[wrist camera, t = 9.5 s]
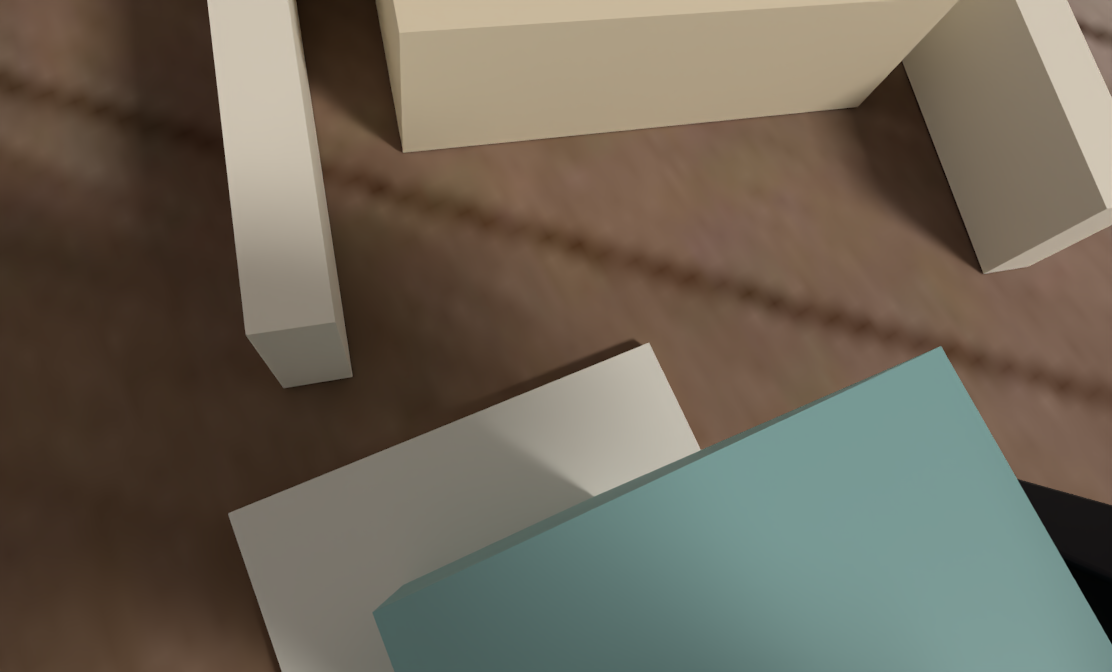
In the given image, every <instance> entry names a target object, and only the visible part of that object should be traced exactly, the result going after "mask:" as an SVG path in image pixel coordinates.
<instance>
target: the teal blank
mask: <svg viewBox="0 0 1112 672" xmlns="http://www.w3.org/2000/svg"><path fill="white" fill-rule="evenodd" d="M372 613H373V616H374V619H375V621H376V624H377V627H378V629H379V632H380V635H381V637H382V640H383V643H384V645H385V648H386V651H387V653H388V656H389V659H390V661H391V664H392V667H393V669H394V672H1112V644H1111V642H1110V640H1109V639H1108V637H1107V635H1106V633H1105V632H1104V630H1103V628H1102V626H1101V625H1100V623H1099V621H1098V619H1097V618H1096V616H1095V614H1094V613H1093V611H1092V609H1091V607H1090V606H1089V604H1088V602H1087V600H1086V599H1085V597H1084V595H1083V593H1082V592H1081V590H1080V588H1079V586H1078V585H1077V583H1076V581H1075V579H1074V578H1073V576H1072V574H1071V572H1070V571H1069V569H1068V567H1067V565H1066V564H1065V562H1064V560H1063V558H1062V557H1061V555H1060V553H1059V551H1058V550H1057V548H1056V546H1055V544H1054V543H1053V541H1052V539H1051V538H1050V536H1049V534H1048V532H1047V531H1046V529H1045V527H1044V525H1043V524H1042V522H1041V520H1040V518H1039V517H1038V515H1037V513H1036V511H1035V510H1034V508H1033V506H1032V504H1031V503H1030V501H1029V499H1028V497H1027V496H1026V494H1025V492H1024V490H1023V489H1022V487H1021V485H1020V483H1019V482H1018V480H1017V478H1016V476H1015V475H1014V473H1013V471H1012V469H1011V468H1010V466H1009V464H1008V462H1007V461H1006V459H1005V457H1004V456H1003V454H1002V452H1001V450H1000V449H999V447H998V445H997V443H996V442H995V440H994V438H993V436H992V435H991V433H990V431H989V429H988V428H987V426H986V424H985V422H984V421H983V419H982V417H981V415H980V414H979V412H978V410H977V408H976V407H975V405H974V403H973V401H972V400H971V398H970V396H969V394H968V393H967V391H966V389H965V387H964V386H963V384H962V382H961V381H960V379H959V377H958V375H957V374H956V372H955V370H954V368H953V367H952V365H951V363H950V361H949V360H948V358H947V356H946V354H945V353H944V351H943V349H942V347H941V346H940V347H938V348H936V349H933V350H931V351H929V352H926V353H924V354H922V355H920V356H917V357H915V358H913V359H910V360H908V361H906V362H903V363H901V364H899V365H896V366H894V367H892V368H890V369H887V370H885V371H883V372H880V373H878V374H876V375H873V376H871V377H869V378H866V379H864V380H862V381H860V382H857V383H855V384H853V385H850V386H848V387H846V388H843V389H841V390H839V391H836V392H834V393H832V394H830V395H827V396H825V397H823V398H820V399H818V400H816V401H813V402H811V403H809V404H806V405H804V406H802V407H800V408H797V409H795V410H793V411H790V412H788V413H786V414H783V415H781V416H779V417H776V418H774V419H772V420H770V421H767V422H765V423H763V424H760V425H758V426H756V427H753V428H751V429H749V430H746V431H744V432H742V433H740V434H737V435H735V436H733V437H730V438H728V439H726V440H723V441H721V442H719V443H716V444H714V445H712V446H710V447H707V448H705V449H703V450H700V451H698V452H696V453H693V454H691V455H689V456H686V457H684V458H682V459H680V460H677V461H675V462H673V463H670V464H668V465H666V466H663V467H661V468H659V469H656V470H654V471H652V472H650V473H647V474H645V475H643V476H640V477H638V478H636V479H633V480H631V481H629V482H626V483H624V484H622V485H620V486H617V487H615V488H613V489H610V490H608V491H606V492H603V493H601V494H599V495H596V496H594V497H592V498H590V499H588V500H586V501H583V502H581V503H579V504H577V505H575V506H573V507H570V508H568V509H566V510H564V511H562V512H560V513H557V514H555V515H553V516H551V517H549V518H547V519H544V520H542V521H540V522H538V523H536V524H534V525H532V526H529V527H527V528H525V529H523V530H521V531H519V532H516V533H514V534H512V535H510V536H508V537H506V538H503V539H501V540H499V541H497V542H495V543H493V544H491V545H488V546H486V547H484V548H482V549H480V550H478V551H475V552H473V553H471V554H469V555H467V556H465V557H462V558H460V559H458V560H456V561H454V562H452V563H450V564H447V565H445V566H443V567H441V568H439V569H437V570H434V571H432V572H430V573H428V574H426V575H424V576H421V577H419V578H417V579H415V580H413V581H411V582H409V583H406V584H404V585H403V586H401V587H400V588H399V589H398V590H397V591H396V592H395V593H394V594H392V595H391V596H390V597H389V598H388V599H387V600H386V601H385V602H383V603H382V604H381V605H380V606H379V607H378V608H377V609H376V610H374V611H373V612H372Z"/></svg>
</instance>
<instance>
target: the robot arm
mask: <svg viewBox="0 0 1112 672" xmlns="http://www.w3.org/2000/svg"><path fill="white" fill-rule="evenodd" d="M1017 480H1018V482H1019V483H1020V485H1021V487H1022V489H1023V490H1024V492H1025V494H1026V496H1027V497H1028V499H1029V501H1030V503H1031V504H1032V506H1033V508H1034V510H1035V511H1036V513H1037V515H1038V517H1039V518H1040V520H1041V522H1042V524H1043V525H1044V527H1045V529H1046V531H1047V532H1048V534H1049V536H1050V538H1051V539H1052V541H1053V543H1054V544H1055V546H1056V548H1057V550H1058V551H1059V553H1060V555H1061V557H1062V558H1063V560H1064V562H1065V564H1066V565H1067V567H1068V569H1069V571H1070V572H1071V574H1072V576H1073V578H1074V579H1075V581H1076V583H1077V585H1078V586H1079V588H1080V590H1081V592H1082V593H1083V595H1084V597H1085V599H1086V600H1087V602H1088V604H1089V606H1090V607H1091V609H1092V611H1093V613H1094V614H1095V616H1096V618H1097V619H1098V621H1099V623H1100V625H1101V626H1102V628H1103V630H1104V632H1105V633H1106V635H1107V637H1108V639H1109V640H1110V642H1111V644H1112V505H1109V504H1105V503H1102V502H1098V501H1095V500H1091V499H1087V498H1084V497H1080V496H1077V495H1073V494H1069V493H1066V492H1062V491H1059V490H1055V489H1051V488H1048V487H1044V486H1041V485H1037V484H1033V483H1030V482H1026V481H1023V480H1019V479H1017Z"/></svg>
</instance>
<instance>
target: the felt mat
mask: <svg viewBox="0 0 1112 672" xmlns="http://www.w3.org/2000/svg"><path fill="white" fill-rule="evenodd" d="M700 450H701V449H700V447H699V445H698V443H697V441H696V439H695V437H694V435H693V433H692V431H691V429H690V427H689V425H688V423H687V420H686V418H685V416H684V414H683V412H682V410H681V408H680V406H679V404H678V402H677V400H676V398H675V396H674V394H673V391H672V389H671V387H670V385H669V383H668V381H667V379H666V377H665V375H664V373H663V371H662V369H661V367H660V365H659V362H658V360H657V358H656V356H655V354H654V352H653V350H652V348H651V346H650V344H649V343H647V344H644V345H642V346H640V347H637V348H635V349H632V350H630V351H627V352H625V353H622V354H620V355H617V356H615V357H612V358H610V359H607V360H605V361H603V362H600V363H598V364H595V365H593V366H590V367H588V368H585V369H583V370H580V371H578V372H575V373H573V374H570V375H568V376H566V377H563V378H561V379H558V380H556V381H553V382H551V383H548V384H546V385H543V386H541V387H538V388H536V389H533V390H531V391H528V392H526V393H524V394H521V395H519V396H516V397H514V398H511V399H509V400H506V401H504V402H501V403H499V404H496V405H494V406H491V407H489V408H487V409H484V410H482V411H479V412H477V413H474V414H472V415H469V416H467V417H464V418H462V419H459V420H457V421H454V422H452V423H450V424H447V425H445V426H442V427H440V428H437V429H435V430H432V431H430V432H427V433H425V434H422V435H420V436H417V437H415V438H413V439H410V440H408V441H405V442H403V443H400V444H398V445H395V446H393V447H390V448H388V449H385V450H383V451H380V452H378V453H376V454H373V455H371V456H368V457H366V458H363V459H361V460H358V461H356V462H353V463H351V464H348V465H346V466H343V467H341V468H339V469H336V470H334V471H331V472H329V473H326V474H324V475H321V476H319V477H316V478H314V479H311V480H309V481H306V482H304V483H302V484H299V485H297V486H294V487H292V488H289V489H287V490H284V491H282V492H279V493H277V494H274V495H272V496H269V497H267V498H264V499H262V500H260V501H257V502H255V503H252V504H250V505H247V506H245V507H242V508H240V509H237V510H235V511H232V512H230V513H228V516H229V519H230V522H231V524H232V527H233V530H234V533H235V536H236V539H237V542H238V545H239V548H240V551H241V554H242V557H243V560H244V563H245V565H246V568H247V571H248V574H249V577H250V580H251V583H252V586H253V589H254V592H255V595H256V598H257V601H258V604H259V607H260V609H261V612H262V615H263V618H264V621H265V624H266V627H267V630H268V633H269V636H270V639H271V642H272V645H273V648H274V650H275V653H276V656H277V659H278V662H279V665H280V668H281V671H282V672H394V669H393V667H392V664H391V661H390V659H389V656H388V653H387V651H386V648H385V645H384V643H383V640H382V637H381V635H380V632H379V629H378V627H377V624H376V621H375V619H374V616H373V613H372V612H373V611H374V610H376V609H377V608H378V607H379V606H380V605H381V604H382V603H383V602H385V601H386V600H387V599H388V598H389V597H390V596H391V595H392V594H394V593H395V592H396V591H397V590H398V589H399V588H400V587H401V586H403V585H404V584H406V583H409V582H411V581H413V580H415V579H417V578H419V577H421V576H424V575H426V574H428V573H430V572H432V571H434V570H437V569H439V568H441V567H443V566H445V565H447V564H450V563H452V562H454V561H456V560H458V559H460V558H462V557H465V556H467V555H469V554H471V553H473V552H475V551H478V550H480V549H482V548H484V547H486V546H488V545H491V544H493V543H495V542H497V541H499V540H501V539H503V538H506V537H508V536H510V535H512V534H514V533H516V532H519V531H521V530H523V529H525V528H527V527H529V526H532V525H534V524H536V523H538V522H540V521H542V520H544V519H547V518H549V517H551V516H553V515H555V514H557V513H560V512H562V511H564V510H566V509H568V508H570V507H573V506H575V505H577V504H579V503H581V502H583V501H586V500H588V499H590V498H592V497H594V496H596V495H599V494H601V493H603V492H606V491H608V490H610V489H613V488H615V487H617V486H620V485H622V484H624V483H626V482H629V481H631V480H633V479H636V478H638V477H640V476H643V475H645V474H647V473H650V472H652V471H654V470H656V469H659V468H661V467H663V466H666V465H668V464H670V463H673V462H675V461H677V460H680V459H682V458H684V457H686V456H689V455H691V454H693V453H696V452H698V451H700Z"/></svg>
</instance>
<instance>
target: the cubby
mask: <svg viewBox="0 0 1112 672" xmlns="http://www.w3.org/2000/svg"><path fill="white" fill-rule="evenodd" d="M207 2H208V11H209V20H210V28H211V37H212V46H213V55H214V63H215V72H216V81H217V89H218V98H219V107H220V116H221V124H222V133H223V142H224V150H225V159H226V168H227V177H228V185H229V194H230V203H231V211H232V220H233V229H234V238H235V246H236V255H237V264H238V272H239V281H240V290H241V299H242V307H243V316H244V325H245V333H246V336H247V338H248V339H249V341H250V342H251V343H252V345H253V346H254V348H255V349H256V350H257V352H258V353H259V355H260V356H261V357H262V359H263V360H264V362H265V363H266V364H267V366H268V367H269V369H270V370H271V371H272V373H273V374H274V376H275V377H276V378H277V380H278V381H279V383H280V384H281V386H282V387H283V388H288V387H294V386H301V385H307V384H313V383H319V382H325V381H331V380H337V379H343V378H350V377H353V375H352V368H351V362H350V355H349V348H348V342H347V335H346V328H345V322H344V315H343V308H342V302H341V295H340V288H339V282H338V275H337V268H336V262H335V255H334V248H333V242H332V235H331V229H330V222H329V215H328V209H327V202H326V195H325V189H324V182H323V175H322V169H321V162H320V155H319V149H318V142H317V135H316V129H315V122H314V115H313V109H312V102H311V95H310V89H309V82H308V75H307V69H306V62H305V56H304V49H303V42H302V36H301V29H300V22H299V16H298V9H297V2H296V0H207ZM376 7H377V13H378V18H379V24H380V29H381V35H382V40H383V46H384V51H385V57H386V62H387V68H388V73H389V79H390V84H391V90H392V95H393V101H394V106H395V112H396V117H397V123H398V128H399V134H400V139H401V145H402V150H403V153H405V152H415V151H424V150H434V149H444V148H454V147H464V146H474V145H484V144H494V143H504V142H514V141H524V140H534V139H544V138H554V137H564V136H574V135H584V134H594V133H604V132H614V131H624V130H634V129H643V128H653V127H663V126H673V125H683V124H693V123H703V122H713V121H723V120H733V119H743V118H753V117H763V116H773V115H783V114H793V113H803V112H813V111H823V110H833V109H843V108H853V107H858V106H859V105H860V104H861V103H862V102H863V101H864V100H865V99H866V98H867V97H868V96H869V95H870V94H871V93H872V91H873V90H874V89H875V88H876V87H877V86H878V85H879V84H880V83H881V82H882V81H883V80H884V79H885V78H886V77H887V76H888V75H889V74H890V72H891V71H892V70H893V69H894V68H895V67H896V66H897V65H898V64H899V63H900V62H901V61H902V62H903V65H904V67H905V70H906V73H907V75H908V78H909V81H910V83H911V86H912V88H913V91H914V94H915V96H916V99H917V101H918V104H919V107H920V109H921V112H922V114H923V117H924V120H925V122H926V125H927V128H928V130H929V133H930V135H931V138H932V141H933V143H934V146H935V148H936V151H937V154H938V156H939V159H940V161H941V164H942V167H943V169H944V172H945V175H946V177H947V180H948V182H949V185H950V188H951V190H952V193H953V195H954V198H955V201H956V203H957V206H958V208H959V211H960V214H961V216H962V219H963V221H964V224H965V227H966V229H967V232H968V235H969V237H970V240H971V242H972V245H973V248H974V250H975V253H976V255H977V258H978V261H979V263H980V266H981V268H982V271H983V274H986V273H992V272H998V271H1004V270H1010V269H1016V268H1023V267H1028V266H1030V265H1032V264H1034V263H1036V262H1038V261H1040V260H1042V259H1044V258H1046V257H1048V256H1050V255H1052V254H1054V253H1056V252H1058V251H1060V250H1062V249H1064V248H1066V247H1068V246H1070V245H1072V244H1074V243H1076V242H1078V241H1080V240H1082V239H1084V238H1086V237H1088V236H1090V235H1092V234H1094V233H1096V232H1098V231H1100V230H1102V229H1104V228H1106V227H1108V226H1110V225H1112V97H1111V95H1110V93H1109V91H1108V89H1107V86H1106V84H1105V82H1104V80H1103V78H1102V75H1101V73H1100V71H1099V69H1098V67H1097V65H1096V62H1095V60H1094V58H1093V56H1092V54H1091V51H1090V49H1089V47H1088V45H1087V43H1086V41H1085V38H1084V36H1083V34H1082V32H1081V30H1080V27H1079V25H1078V23H1077V21H1076V19H1075V17H1074V14H1073V12H1072V10H1071V8H1070V6H1069V3H1068V1H1067V0H376Z"/></svg>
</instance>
